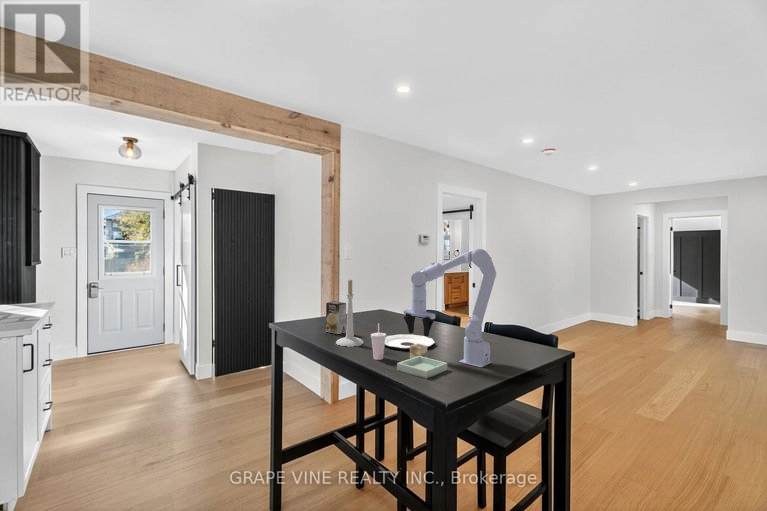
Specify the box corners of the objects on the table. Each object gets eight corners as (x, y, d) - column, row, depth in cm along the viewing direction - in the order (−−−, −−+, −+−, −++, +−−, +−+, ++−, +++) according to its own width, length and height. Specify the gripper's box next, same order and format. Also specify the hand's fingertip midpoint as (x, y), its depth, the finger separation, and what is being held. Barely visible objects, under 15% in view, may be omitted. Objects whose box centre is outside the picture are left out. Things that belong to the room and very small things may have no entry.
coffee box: (325, 333, 186) (325, 302, 186) (333, 330, 191) (333, 301, 191) (338, 335, 181) (338, 303, 181) (346, 333, 186) (346, 302, 186)
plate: (441, 342, 170) (441, 338, 170) (422, 355, 148) (422, 350, 148) (394, 335, 182) (395, 332, 182) (370, 347, 160) (370, 343, 160)
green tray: (447, 369, 128) (447, 362, 128) (426, 378, 119) (426, 371, 119) (418, 362, 137) (418, 355, 137) (396, 370, 128) (397, 363, 128)
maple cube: (427, 358, 143) (427, 345, 143) (419, 360, 139) (419, 348, 139) (417, 355, 147) (417, 343, 146) (409, 358, 143) (409, 345, 143)
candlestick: (331, 342, 167) (331, 278, 167) (355, 338, 174) (355, 277, 174) (343, 348, 156) (344, 280, 156) (368, 344, 163) (369, 279, 163)
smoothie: (386, 356, 145) (386, 322, 145) (386, 360, 139) (386, 325, 138) (370, 356, 145) (370, 322, 145) (370, 360, 138) (370, 325, 138)
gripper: (439, 301, 141) (439, 335, 141) (411, 298, 151) (410, 330, 151) (429, 303, 136) (429, 338, 136) (400, 299, 146) (400, 332, 146)
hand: (418, 334), depth 143 cm, fingers open, 7 cm apart
